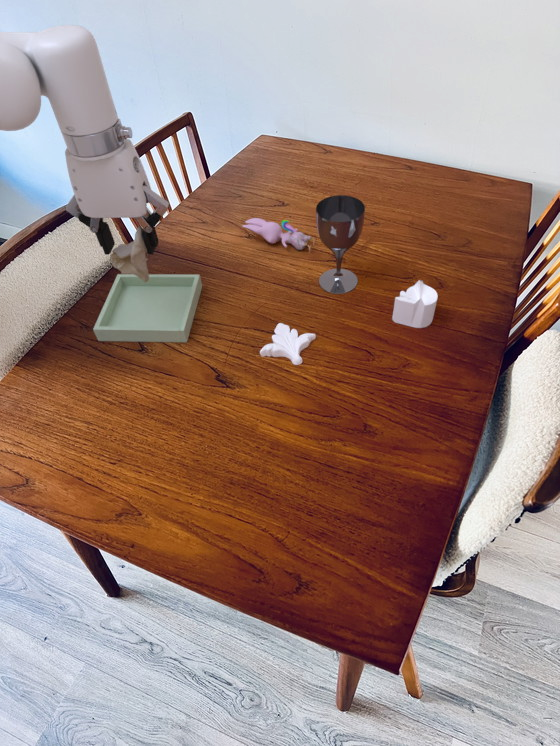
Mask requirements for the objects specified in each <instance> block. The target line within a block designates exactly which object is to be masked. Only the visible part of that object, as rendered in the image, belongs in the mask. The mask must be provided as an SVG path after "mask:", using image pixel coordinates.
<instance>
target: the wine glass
mask: <svg viewBox="0 0 560 746" xmlns="http://www.w3.org/2000/svg"><path fill="white" fill-rule="evenodd" d="M365 218H366V206H365V204H364V202H363V201H362V200H361V199H358V198H357V197H355V196H351V195H345V194H339V195H338V194H337V195H332V196H328V197H325V198H323V199H321V200H320V201H319V202H318V203H317V204H316V207H315V221H316V224H315V225H316V230H317V233H318V234H317V235H318V236H319V239H320V242H321V243H322V244H323V245H324V246H325V247H326V248H327V249H328V250H330V251H331V252H332V253H333V255H334V257H335V266H336V268H332V269H328V270H326V271H324V272H323V273H322V274H321V275H320V276H319V279H318V285H319V286H320V288H321V289H323V290H324V291H326V292H328V293H330V294H336V295H337V294H338V295H339V294H346V293H349V292H352V291H353V290H354V289H355V288H356V287H357V285H358V283H359V281H358V277H357V275H356V274H355V273H354V272H353V271H351V270H348V269H345V268H342V262H343V258H344V255H345V253H346V252H348V251H349V250H350V249H351V248H353V247H354V246H355V245H356V244H357V243H358V241H359V239H360V237H361V235H362V232H363V228H364V225H365Z"/></svg>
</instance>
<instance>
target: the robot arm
mask: <svg viewBox="0 0 560 746" xmlns="http://www.w3.org/2000/svg"><path fill="white" fill-rule="evenodd" d="M42 97H46V99H48V101H49V104H50V107H51V109H52V112H53V114H54V117H55V119H56V122H57V125H58V128H59V130H60V132H61V135H62V138H63V140H64V143H65V145H66V149H65V150H64V155H65V162H66V169H67V172H68V177H69V181H70V185H71V188H72V191H73V195H72V197H71V198H70V200H69V201H68V203H67V204H66V206H65V211H66V212H67V213H69V214H70V215H72V216H73V217H75V218H77V220H78V221H79V222H80V223H82V224H83V225H85V226H87V227H88V228H89V231H90V232H91V233H92V234H95V236H96V239H97V242H98V244H99V247H101V248H102V251H103V253H104V255H111V254H112V251H113V249H114V248H115V245H116V242H115V239H114V236H113V234H112V231H111V228H110V225H109V223H108V222H107V221H104V219H126V218H127V219H129V218H130V219H132V218H134V219H135V221H136V222H137V223H138V225H139V226H140V227H142V228H143V229H144V230H143V232H142V236H143V240H144V243H145V246H146V249H147V252H146V253H147V254H148V255H154V253H155V250H156V248H157V247H159V236H158V234H157V233H158V232H157V229H156V226H157V225H158V223H159V222H160V221H161V219H162V217H164V215H165V214H166V213H167V211H168V210H169V207H170V202H169V201H168V200H166V199H165V198H163V197H162V196H161V195H159V194H158V193H156V192H155V191H153V190H152V187H151V183H150V181H149V178H148V176H147V173H146V171H145V168H144V165H143V163H142V160H141V158H140V155H139V154H138V152H137V149H136V148H135V146H134V144H133V142H132V141H131V139H132V138H133V130H132V127H130V126H125V125H123V124H122V121H121V119H120V118H119V117H118V113H117V110H116V106H115V103H114V100H113V95H112V92H111V89H110V85H109V82H108V79H107V74H106V71H105V68H104V65H103V61H102V58H101V55H100V51H99V47H98V44H97V41H96V39H95V36H94V34H93V33H92V32H91V31H90V30H89V29H87V28H86V27H84V26H82V25H77V24H76V25H75V24H61V25H55V26H50V27H47V28H45V29H42V30H40V31H26V32H25V31H24V32H23V31H21V32H20V31H0V131H4V132H16V131H20V130H24V129H26V128H28V127H29V126H31V125H32V124H33V123H34V122H35V121H36V119H37V118H38V116H39V114H40V111H41V107H42ZM147 204H150V205H152V206H154V208H155V209H154V211H152V212H151V210H150V208H149V207H148V206H147Z"/></svg>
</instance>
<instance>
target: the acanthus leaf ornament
mask: <svg viewBox="0 0 560 746" xmlns="http://www.w3.org/2000/svg"><path fill="white" fill-rule="evenodd" d="M273 331H274V334H272V335H271V341H272V343H267V344H264V346H263V347H262V348H261V349H260V350H259V355H260V357H262V358H264V357H269V358H270V357H273V358H278V357H283V358H287V359H289V360H290V361H291V364H293V365H294V366H301V365H302V363H303V362H304V361H303V358H302V356H301V355H300V354H301V352H302V351H303V350H305V349H306V348H308V347H309V346H310V344H311V343H312V341H314V340H315V339H317V334H316V333H310V332H306V333H303V334H301V335H299V332H298V330H297V329H296V328H292V329H291V328H290V326H289V325H288V324H285V323H283V322H279V323H278V324H276V327H275V328H274V330H273Z"/></svg>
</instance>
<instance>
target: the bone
mask: <svg viewBox="0 0 560 746" xmlns="http://www.w3.org/2000/svg"><path fill="white" fill-rule="evenodd" d="M143 230H144V229H143V228H142V227H141V226H140V225H138V226H137V227H136V231H135V234H134V240H133V241H131V242H129V243H127V244H126V243H125V244H124V243H121V244H119V245H118V246H116V247H113V249H112V251H111V253H110V254H109V255H110V259H111V261H112V267H113V268H114V269H117V270H118V271H120V274H134V275H136V276H137V277H139V278H140V279H142V280H143V281H144V282H148V280H149V269H148V263H147V261H149V258H147V256H146V253H147V249H146V246H145V243H144V240H143V236H142V232H143Z"/></svg>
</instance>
